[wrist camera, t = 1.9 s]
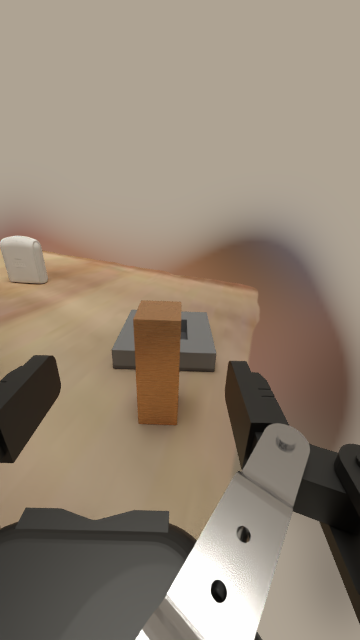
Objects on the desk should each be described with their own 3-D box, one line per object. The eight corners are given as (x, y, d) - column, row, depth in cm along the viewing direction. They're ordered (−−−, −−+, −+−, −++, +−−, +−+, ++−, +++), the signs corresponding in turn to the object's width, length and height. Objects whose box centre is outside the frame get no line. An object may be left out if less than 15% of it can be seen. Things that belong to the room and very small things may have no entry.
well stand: (113, 368, 33) (111, 349, 32) (132, 324, 46) (131, 309, 45) (214, 371, 33) (216, 353, 32) (205, 326, 46) (206, 312, 45)
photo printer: (7, 282, 67) (-6, 235, 62) (18, 278, 71) (7, 234, 66) (41, 285, 66) (31, 238, 61) (51, 281, 70) (42, 236, 65)
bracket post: (138, 423, 25) (133, 319, 20) (144, 393, 29) (141, 300, 24) (176, 424, 25) (181, 320, 20) (177, 394, 29) (181, 301, 24)
